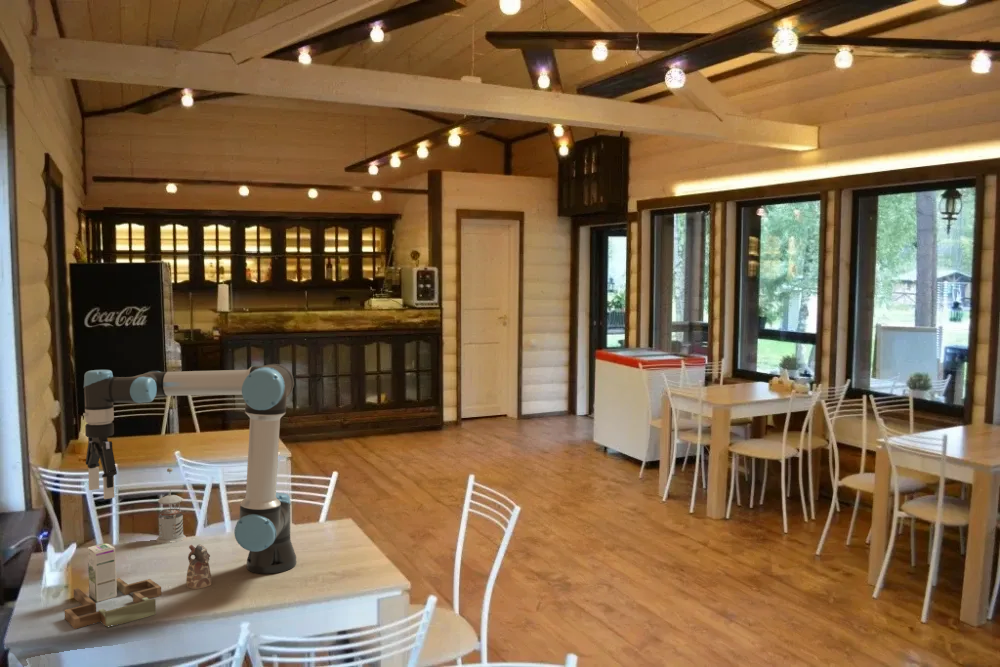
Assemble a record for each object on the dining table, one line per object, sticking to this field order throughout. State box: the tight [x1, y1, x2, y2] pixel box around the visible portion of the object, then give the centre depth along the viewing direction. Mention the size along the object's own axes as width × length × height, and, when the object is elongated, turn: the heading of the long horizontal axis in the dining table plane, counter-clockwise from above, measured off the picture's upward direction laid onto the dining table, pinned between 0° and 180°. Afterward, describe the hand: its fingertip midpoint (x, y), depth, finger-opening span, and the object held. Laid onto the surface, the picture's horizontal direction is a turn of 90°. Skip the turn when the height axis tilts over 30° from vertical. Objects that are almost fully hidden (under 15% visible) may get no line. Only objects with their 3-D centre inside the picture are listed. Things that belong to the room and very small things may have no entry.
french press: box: [155, 467, 187, 544], centre depth 278 cm, size 10×12×25 cm
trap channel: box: [64, 577, 162, 630], centre depth 220 cm, size 27×25×4 cm
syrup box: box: [87, 542, 118, 603], centre depth 226 cm, size 6×6×14 cm
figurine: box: [185, 544, 213, 590], centre depth 236 cm, size 7×7×12 cm
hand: (101, 493), depth 236 cm, fingers open, 13 cm apart
